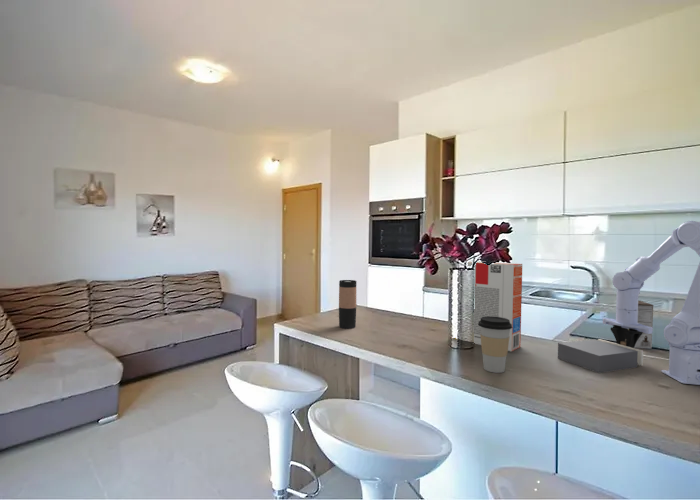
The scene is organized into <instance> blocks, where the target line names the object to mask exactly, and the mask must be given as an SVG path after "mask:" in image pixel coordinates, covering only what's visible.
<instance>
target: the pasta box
mask: <svg viewBox="0 0 700 500" xmlns="http://www.w3.org/2000/svg"><path fill="white" fill-rule="evenodd" d="M469 261H470V262H468V266H471V265H472V262H471V261H472V260H469ZM482 262H483V261H477V263H476V265H475V309H474V343H475V345H479V346H481V335H480V334H481V328H480V326H479V325H478V323H479V321H481V318H482V317H487V316H492V317H502V318H506V319H509V320H510V323H511V324H512V328H511V329H510V333H509V345H508V352H514V351H515V350H518V349H520V348H521V334H522V333H521V332H522V299H523V298H522V297H523V296H522V294H523V293H522V292H523V291H522V290H523V263H517V262H516V263H515V262H514V263H513V262H511V263H510V262H497V263H494V264H491V265H486V264H484V263H482ZM474 343H473V344H474Z"/></svg>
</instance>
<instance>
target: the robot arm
mask: <svg viewBox="0 0 700 500" xmlns="http://www.w3.org/2000/svg"><path fill="white" fill-rule="evenodd" d="M683 248H690V249H692V250H693V251H695V253H696V254H697V255H698V257H700V221H697V220H688V221H684V222H682V223H681V224H680V225H679V226H678V227H676V228H675V229H673V230H672V232H671V234H670V236H669V237H668V238H666V240H664V241H663V242H662V243H661V244H660V245H659V246H658V247H657V248H656V249H654V251H653V252H651V254H650V255H649V256H647V255H643V256H639V257H637V258H635V262H634V263H633V264H631V265H630V266H628V267H625V269H624V271H618V272H616V273H615V274H614V275H613V277H612V285H613V286H614V289H616V296H615V297H616V302H615V304H616V305H615V307H616V308H615V318H610V317H602V324H603V325H609V326H612V327H610V332H611V333H612V334H613V337H614V339H615V341H616V342H615V343H616V344H620V342H621V341H626V346H627V347H631V348H634V347H635V344H636V342H637V340H638V339H639V337H640V336H641V335H642V333H643V332H644V333H646V334H652V335H653V333H654V332H653V331H654V329H653V326H652V327H649V326H645V325H642V324H638V301H639V295H640V294H641V293H640V291H641V290H642V289H643V287H644V285H645V282H646V281H647V280H648V279H649V278H651V277H652V276H653V275H654V274H656V273H657V272H658V271H659V270H660V269H661V265H660V264H661V263H663V262H665V261H666V260H668V259H669V258H670V257H672V256H673V255H675V254H676V253H677V252H679V251H680V250H682V249H683ZM685 297H686V298H685V300H684V302H683V306H682V308H681V310H680V311H679V313H677V314H676V315H674V316H673V317H672V318H671V321H670V323H668V324H667V325H666V326H665V327H664V329H663V336H664V337H663V338H664V339H665V341H667V343H668V346H669V357H668V358H669V359H668V369H667V370H665V369H661V370H660V372H661V373H663V374H664V375H667V376H668V377H670V378H672V379H674V380H676V381H678V382H679V383H681V384H684V385H697V386H700V262H699V264H698V266H697V268H696V271H695V274H694V276H693V279H692V281H691V284H690V287H689V290H688V293H687V295H686V296H685ZM630 327H631V328H630ZM628 329H629V330H628Z"/></svg>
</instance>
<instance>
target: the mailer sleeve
mask: <svg viewBox="0 0 700 500" xmlns="http://www.w3.org/2000/svg"><path fill="white" fill-rule="evenodd" d="M637 357H638V351H635V350H632V349H628V348H624V347H621V346H617V345H614V344H610V343H606V342H603V341H599V340H598V339H595V338H592V339H584V340H582V339H581V340H574V341H573V340H572V341H564V342H558V343H557V359H558V360H562V361H565V362H567V363H570V364H573V365H575V366H579V367H581V368H584V369H587V370H590V371H593V372H595V373H598V374H601V373H602V374H603V373H606V372H607V373H608V372H613V371H621V370H627V369H636V368H638V365H637Z"/></svg>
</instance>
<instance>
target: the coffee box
mask: <svg viewBox="0 0 700 500" xmlns="http://www.w3.org/2000/svg"><path fill="white" fill-rule="evenodd" d="M653 319H654V304H652V303H649V302H645V301H642V300H638V324H642V325H645V326H649V327H653V322H654V320H653ZM630 328H631V327H630ZM628 330H629V329H628ZM652 342H653V333H652V334H646V333H644V332H643V333H642V335H641V336H640V337H639V339H638V340H637V342H636V344H635V347H634V348H635V349H651V350H652V347H653V346H652V345H653V343H652Z"/></svg>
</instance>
